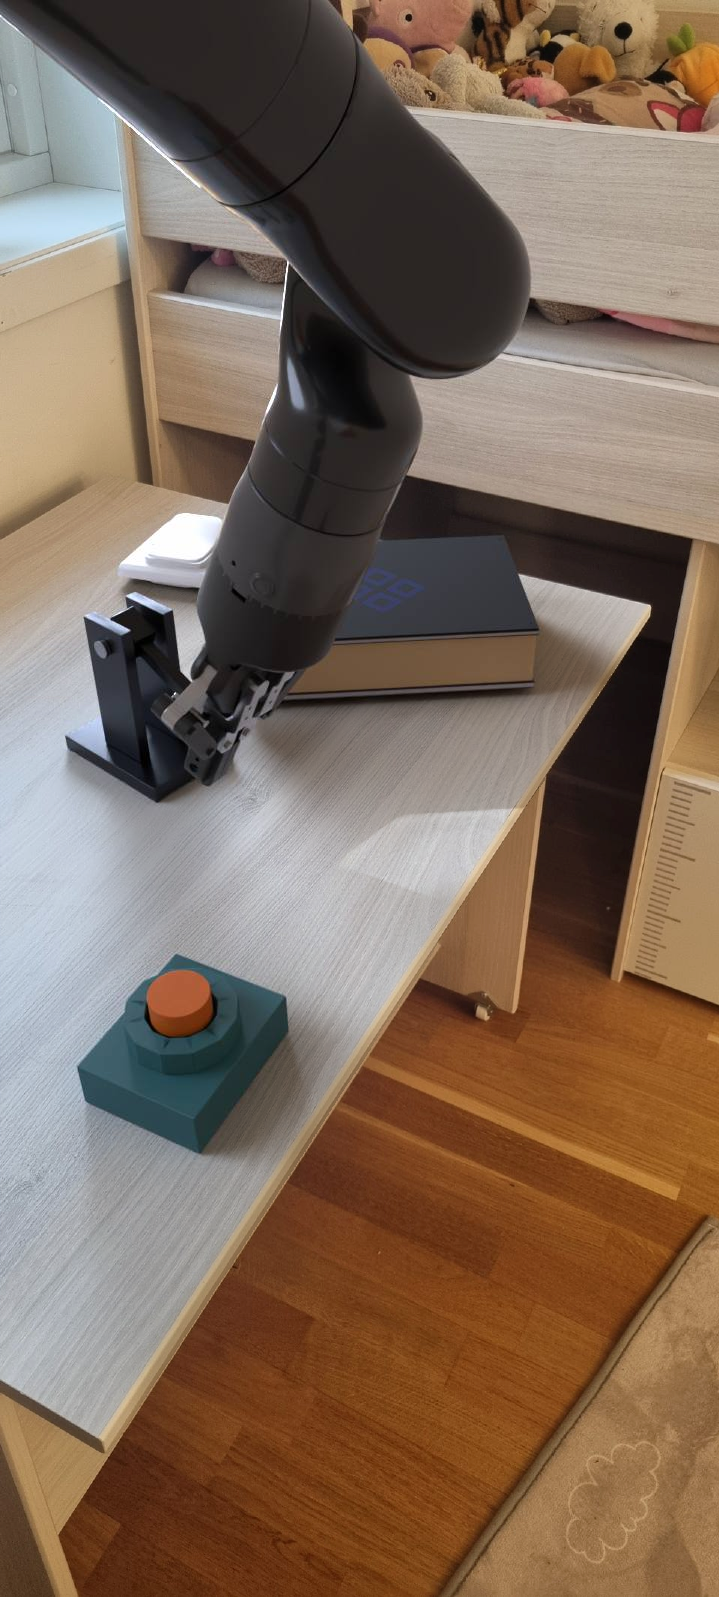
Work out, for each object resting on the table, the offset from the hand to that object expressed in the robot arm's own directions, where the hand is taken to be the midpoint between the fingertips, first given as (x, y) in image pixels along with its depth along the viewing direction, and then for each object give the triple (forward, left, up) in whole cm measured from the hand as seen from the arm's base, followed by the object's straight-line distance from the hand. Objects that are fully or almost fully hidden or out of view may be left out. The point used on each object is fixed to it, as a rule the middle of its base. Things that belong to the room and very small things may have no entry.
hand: (203, 772), depth 72 cm
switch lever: (+10, +16, -5) cm, 20 cm away
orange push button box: (-9, -7, -13) cm, 18 cm away
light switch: (+35, +41, -14) cm, 56 cm away
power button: (-9, -7, -9) cm, 14 cm away
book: (+34, +15, -14) cm, 40 cm away
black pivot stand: (+10, +19, -13) cm, 26 cm away
